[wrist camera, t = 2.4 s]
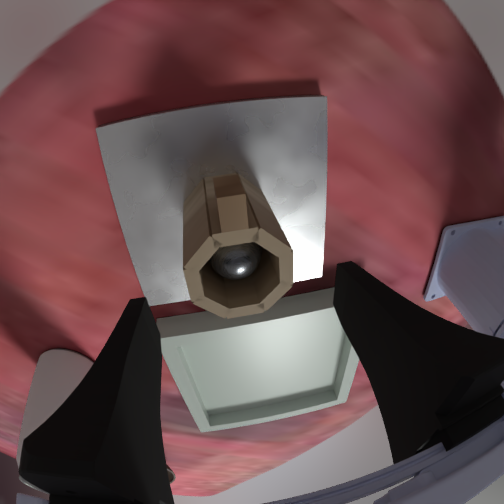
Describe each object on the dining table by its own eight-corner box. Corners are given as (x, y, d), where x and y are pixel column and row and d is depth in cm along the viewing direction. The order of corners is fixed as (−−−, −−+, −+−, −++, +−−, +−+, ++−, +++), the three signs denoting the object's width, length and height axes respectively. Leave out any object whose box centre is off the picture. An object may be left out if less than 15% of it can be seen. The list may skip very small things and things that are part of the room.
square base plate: (321, 94, 16) (380, 115, 11) (318, 269, 23) (352, 333, 18) (99, 125, 15) (57, 160, 9) (149, 298, 21) (143, 371, 16)
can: (26, 354, 23) (-2, 471, 13) (73, 338, 22) (48, 476, 13) (69, 392, 26) (57, 499, 16) (117, 380, 26) (112, 502, 16)
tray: (364, 280, 24) (375, 297, 23) (340, 387, 33) (345, 401, 32) (156, 318, 22) (155, 338, 21) (199, 416, 32) (201, 432, 30)
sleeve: (259, 144, 16) (292, 187, 11) (265, 238, 19) (293, 306, 15) (174, 156, 16) (167, 206, 11) (192, 250, 19) (197, 323, 14)
